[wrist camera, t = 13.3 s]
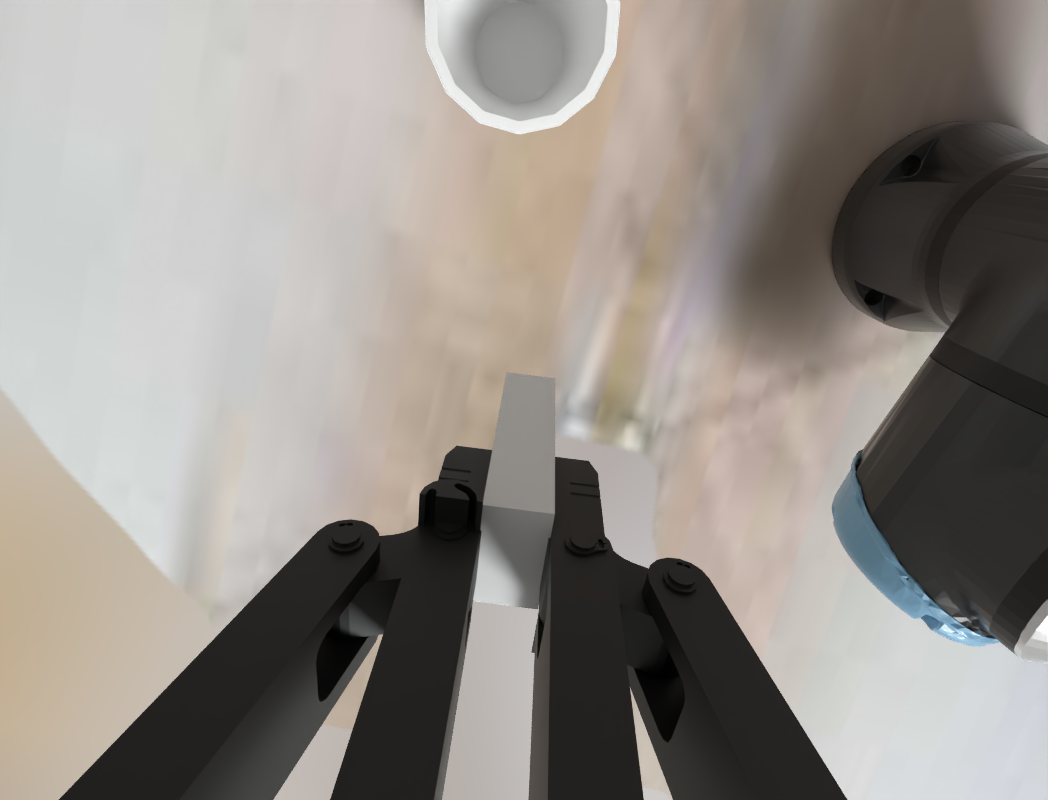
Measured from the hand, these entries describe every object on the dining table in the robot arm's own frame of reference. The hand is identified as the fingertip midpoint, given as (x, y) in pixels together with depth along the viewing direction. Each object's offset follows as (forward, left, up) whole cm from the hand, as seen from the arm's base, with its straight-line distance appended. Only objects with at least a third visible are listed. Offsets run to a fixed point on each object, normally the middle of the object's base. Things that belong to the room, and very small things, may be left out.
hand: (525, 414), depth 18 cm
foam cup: (0, -13, -30) cm, 32 cm away
